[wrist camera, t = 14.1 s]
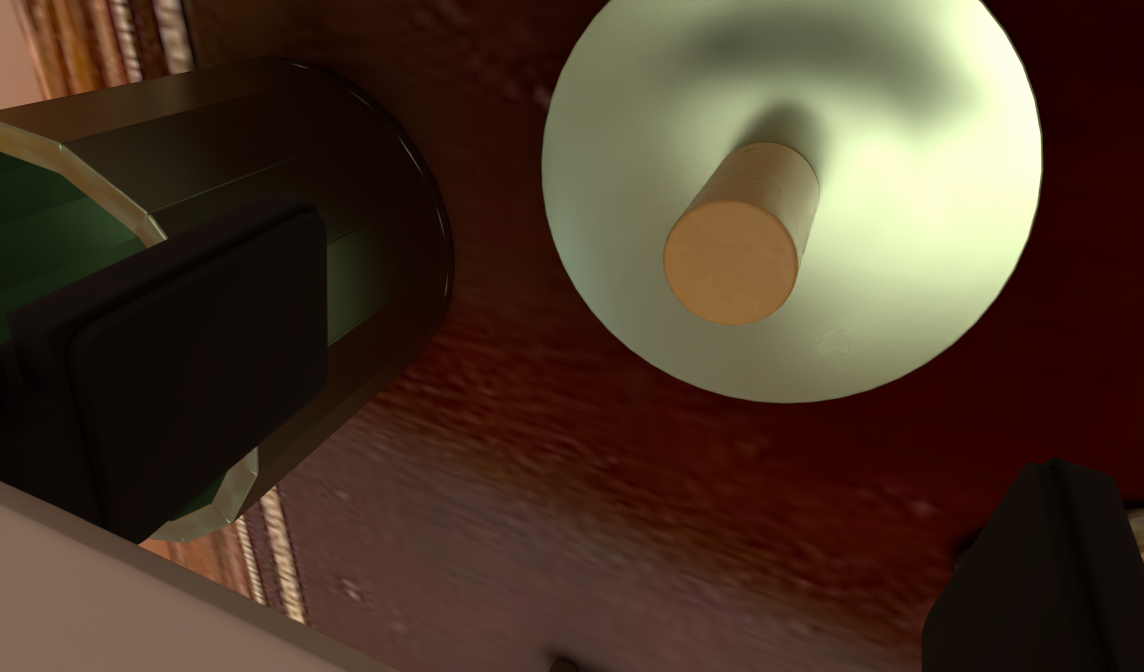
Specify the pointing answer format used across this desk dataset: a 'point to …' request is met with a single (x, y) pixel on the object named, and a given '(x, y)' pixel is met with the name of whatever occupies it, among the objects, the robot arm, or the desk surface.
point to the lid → (791, 185)
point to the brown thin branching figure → (562, 667)
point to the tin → (221, 183)
